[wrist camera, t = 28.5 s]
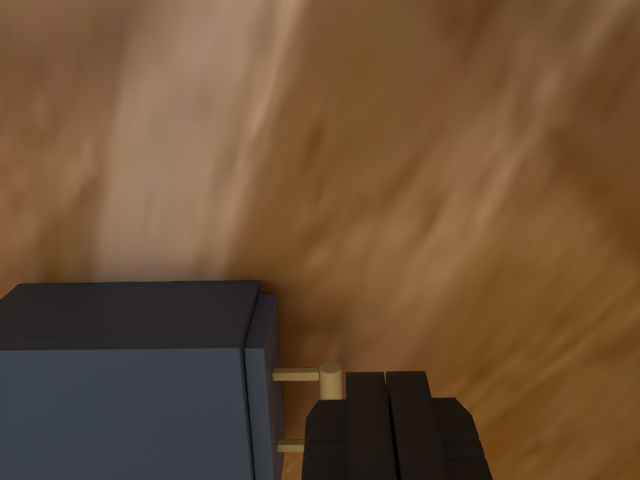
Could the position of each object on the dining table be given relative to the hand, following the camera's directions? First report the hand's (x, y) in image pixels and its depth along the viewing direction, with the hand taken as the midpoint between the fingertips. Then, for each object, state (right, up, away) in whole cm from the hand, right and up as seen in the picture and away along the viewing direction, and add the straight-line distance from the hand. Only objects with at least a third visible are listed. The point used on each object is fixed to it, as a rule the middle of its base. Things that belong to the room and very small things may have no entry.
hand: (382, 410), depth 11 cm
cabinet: (-13, -6, +32) cm, 35 cm away
